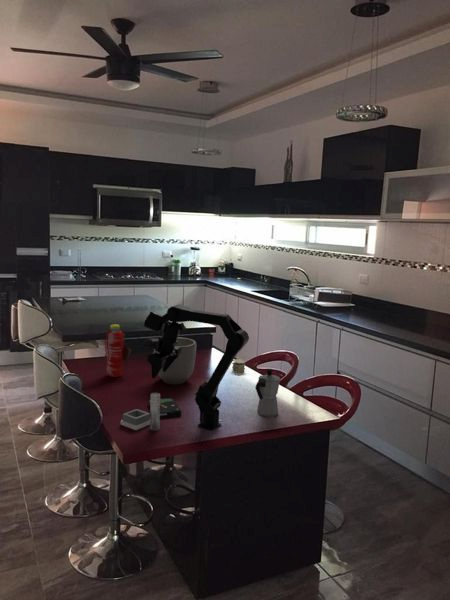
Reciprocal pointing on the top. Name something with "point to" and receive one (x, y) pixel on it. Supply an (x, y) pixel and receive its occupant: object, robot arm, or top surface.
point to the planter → (181, 363)
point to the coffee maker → (267, 394)
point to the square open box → (136, 419)
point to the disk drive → (168, 408)
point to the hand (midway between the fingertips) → (158, 374)
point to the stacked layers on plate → (238, 365)
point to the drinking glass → (155, 412)
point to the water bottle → (115, 351)
